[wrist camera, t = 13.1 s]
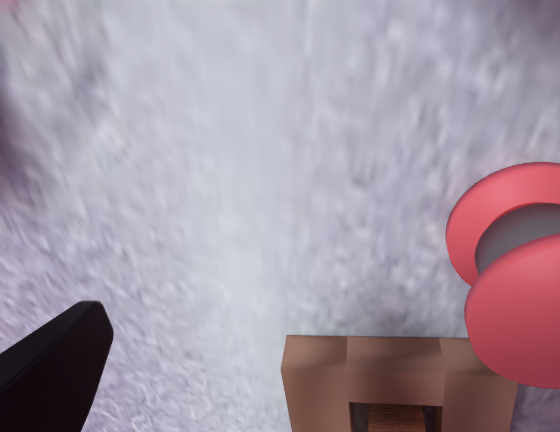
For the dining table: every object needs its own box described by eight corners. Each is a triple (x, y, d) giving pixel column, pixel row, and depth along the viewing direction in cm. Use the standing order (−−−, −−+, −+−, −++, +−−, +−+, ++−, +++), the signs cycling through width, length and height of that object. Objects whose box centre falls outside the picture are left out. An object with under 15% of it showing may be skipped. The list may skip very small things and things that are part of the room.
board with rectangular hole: (507, 338, 26) (519, 376, 24) (486, 467, 32) (494, 506, 30) (286, 335, 28) (280, 369, 26) (307, 456, 35) (303, 491, 33)
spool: (628, 157, 20) (717, 242, 15) (593, 288, 24) (654, 392, 19) (449, 166, 21) (476, 247, 16) (442, 288, 25) (461, 385, 20)
